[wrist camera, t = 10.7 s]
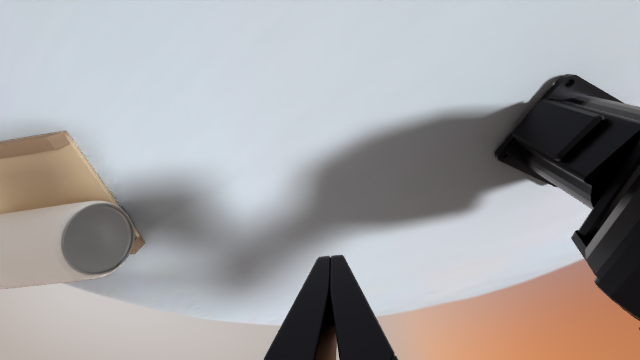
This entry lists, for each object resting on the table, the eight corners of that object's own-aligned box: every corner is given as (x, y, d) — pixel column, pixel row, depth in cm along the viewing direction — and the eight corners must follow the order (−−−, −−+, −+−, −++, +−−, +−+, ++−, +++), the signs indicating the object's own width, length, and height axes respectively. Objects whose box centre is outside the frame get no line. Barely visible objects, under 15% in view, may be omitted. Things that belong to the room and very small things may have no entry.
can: (141, 263, 24) (37, 274, 25) (133, 196, 24) (30, 211, 25) (63, 294, 17) (-71, 307, 19) (52, 203, 17) (-80, 223, 19)
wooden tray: (65, 130, 19) (46, 137, 18) (145, 242, 25) (135, 253, 24) (-79, 154, 21) (-106, 162, 19) (28, 254, 27) (13, 265, 25)
